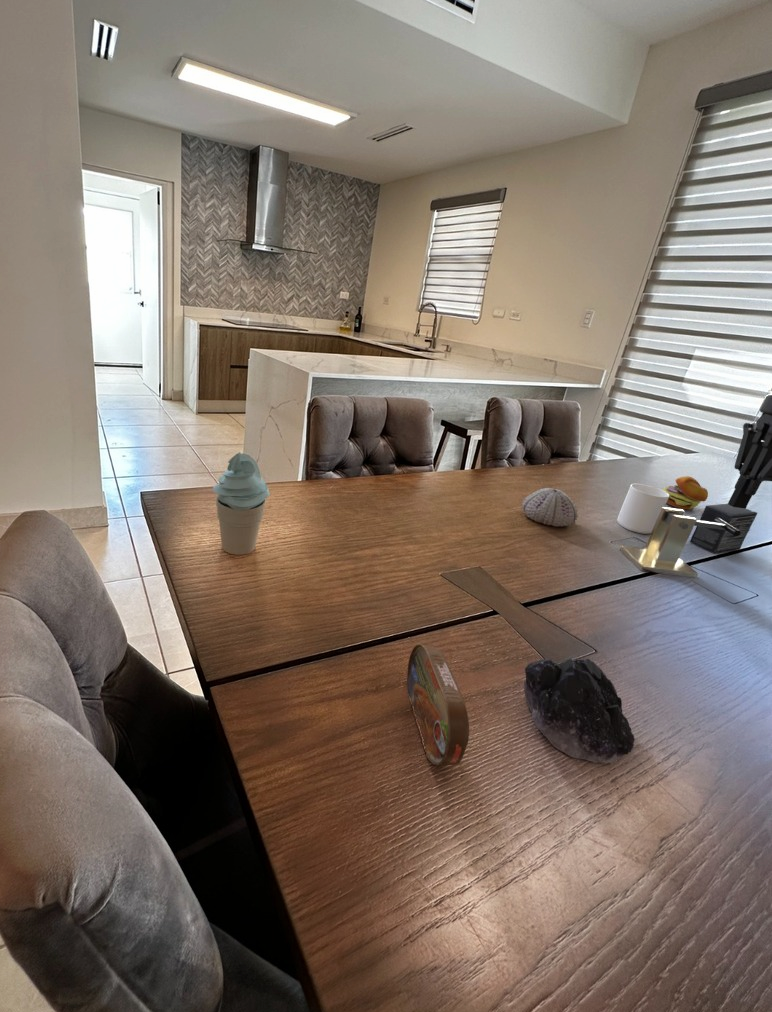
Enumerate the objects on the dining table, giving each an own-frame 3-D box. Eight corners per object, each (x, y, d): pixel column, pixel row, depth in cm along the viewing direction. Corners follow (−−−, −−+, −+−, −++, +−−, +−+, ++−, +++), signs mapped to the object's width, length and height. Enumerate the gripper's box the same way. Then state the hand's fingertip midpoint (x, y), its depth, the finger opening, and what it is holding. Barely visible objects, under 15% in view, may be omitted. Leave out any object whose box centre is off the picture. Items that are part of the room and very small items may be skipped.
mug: (660, 526, 127) (676, 490, 123) (648, 538, 119) (665, 499, 115) (625, 514, 132) (639, 478, 128) (611, 524, 124) (626, 487, 120)
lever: (718, 526, 105) (722, 516, 104) (738, 539, 100) (743, 529, 99) (659, 518, 105) (663, 508, 105) (676, 530, 100) (680, 520, 99)
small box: (713, 537, 124) (730, 501, 120) (740, 550, 118) (760, 513, 114) (687, 541, 120) (704, 504, 116) (714, 554, 114) (733, 515, 110)
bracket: (670, 556, 110) (693, 507, 106) (696, 578, 102) (722, 526, 97) (619, 550, 111) (639, 500, 106) (640, 570, 102) (664, 518, 97)
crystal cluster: (637, 729, 63) (661, 666, 60) (619, 792, 53) (646, 720, 50) (535, 678, 71) (551, 620, 68) (502, 724, 61) (519, 659, 58)
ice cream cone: (274, 542, 96) (281, 449, 88) (243, 567, 86) (248, 465, 79) (232, 528, 99) (236, 437, 92) (198, 550, 90) (200, 451, 82)
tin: (402, 678, 65) (413, 630, 62) (424, 679, 66) (436, 631, 63) (432, 783, 52) (449, 728, 48) (460, 783, 52) (478, 728, 49)
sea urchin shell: (581, 534, 116) (592, 505, 113) (525, 525, 118) (534, 496, 115) (564, 512, 128) (574, 485, 125) (513, 504, 130) (522, 477, 127)
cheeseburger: (661, 493, 152) (682, 468, 147) (695, 514, 146) (718, 488, 140) (650, 499, 145) (672, 472, 140) (686, 520, 139) (710, 493, 134)
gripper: (747, 387, 97) (698, 491, 106) (802, 401, 85) (741, 517, 94) (783, 392, 97) (731, 496, 106) (844, 406, 85) (779, 522, 94)
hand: (736, 506), depth 100 cm, fingers closed
